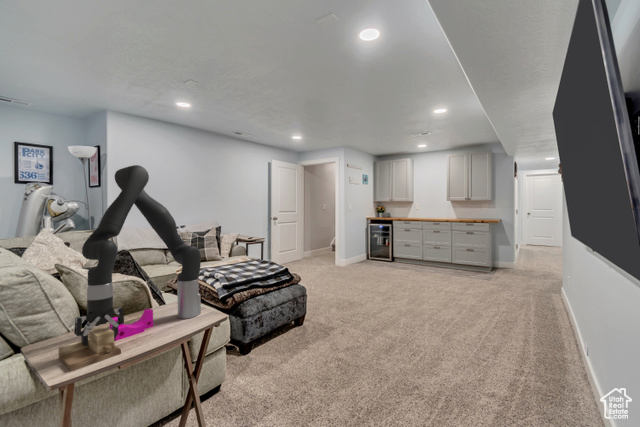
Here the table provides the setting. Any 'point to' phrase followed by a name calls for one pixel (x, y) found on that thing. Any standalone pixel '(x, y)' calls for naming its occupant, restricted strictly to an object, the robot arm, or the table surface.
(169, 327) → the table surface
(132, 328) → the toy block
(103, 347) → the beige rectangular block
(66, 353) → the board
